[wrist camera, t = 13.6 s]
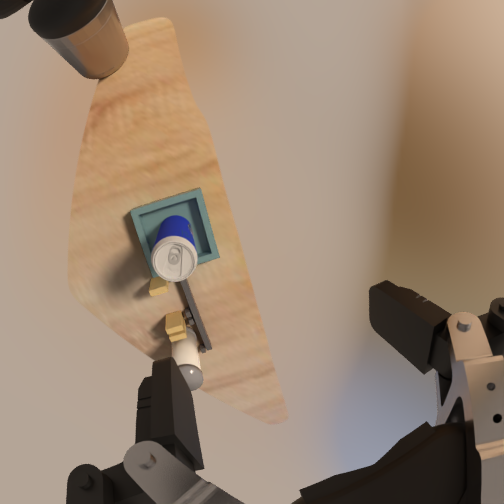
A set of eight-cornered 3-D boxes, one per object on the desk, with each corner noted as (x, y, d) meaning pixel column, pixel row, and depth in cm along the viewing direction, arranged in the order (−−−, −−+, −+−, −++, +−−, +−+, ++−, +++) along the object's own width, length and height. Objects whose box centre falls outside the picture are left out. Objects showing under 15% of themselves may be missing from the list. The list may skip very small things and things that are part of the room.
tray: (132, 208, 41) (130, 210, 38) (199, 187, 43) (200, 188, 40) (154, 272, 45) (153, 278, 42) (217, 252, 46) (219, 257, 44)
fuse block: (150, 276, 45) (147, 288, 40) (182, 266, 46) (183, 277, 41) (183, 353, 50) (185, 370, 46) (211, 345, 51) (215, 361, 47)
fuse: (167, 329, 48) (167, 373, 37) (191, 322, 49) (197, 365, 38) (176, 349, 50) (179, 394, 38) (199, 342, 51) (207, 386, 39)
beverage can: (188, 249, 44) (192, 288, 30) (156, 243, 43) (146, 279, 29) (195, 218, 43) (203, 243, 29) (163, 211, 42) (154, 233, 28)
